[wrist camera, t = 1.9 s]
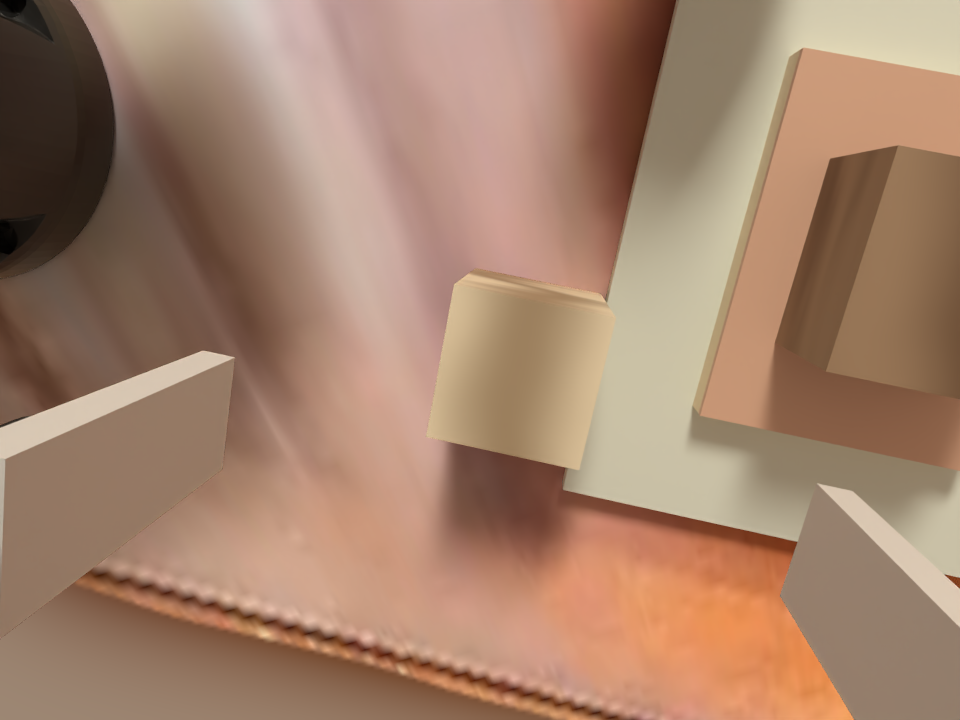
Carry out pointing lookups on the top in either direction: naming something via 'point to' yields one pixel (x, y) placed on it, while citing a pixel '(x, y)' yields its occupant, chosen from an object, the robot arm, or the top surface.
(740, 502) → the board
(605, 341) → the maple block
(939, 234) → the walnut block
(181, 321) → the top surface
